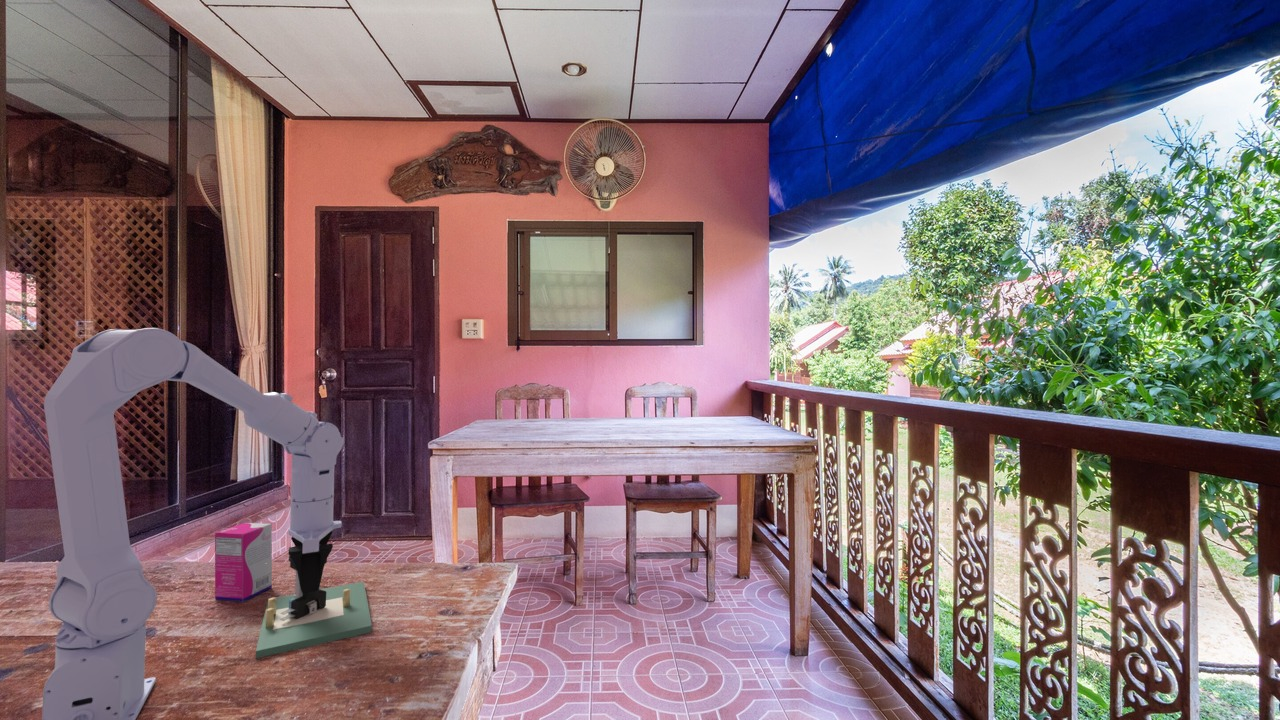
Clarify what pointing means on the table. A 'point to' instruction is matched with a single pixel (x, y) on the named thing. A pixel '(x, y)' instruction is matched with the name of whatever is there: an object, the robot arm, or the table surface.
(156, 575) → the table surface
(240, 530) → the supplement box
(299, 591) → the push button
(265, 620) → the board
